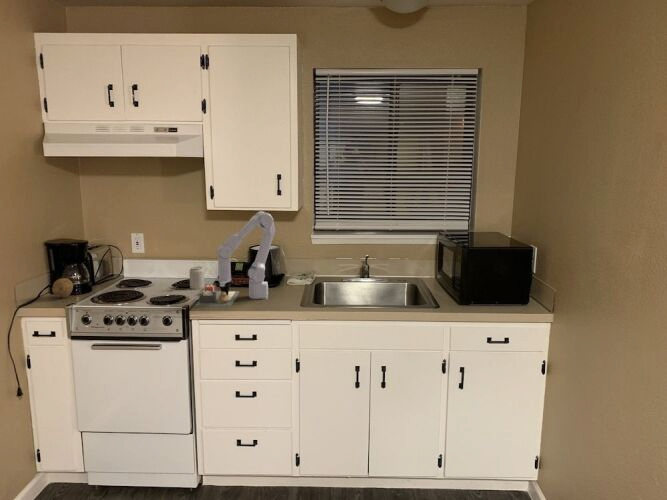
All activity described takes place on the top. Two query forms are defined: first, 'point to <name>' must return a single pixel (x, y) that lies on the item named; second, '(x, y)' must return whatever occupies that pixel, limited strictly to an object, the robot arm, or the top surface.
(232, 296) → the board
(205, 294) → the dome
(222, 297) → the pawn
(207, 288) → the die
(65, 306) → the top surface
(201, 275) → the can
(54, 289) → the natural sponge
